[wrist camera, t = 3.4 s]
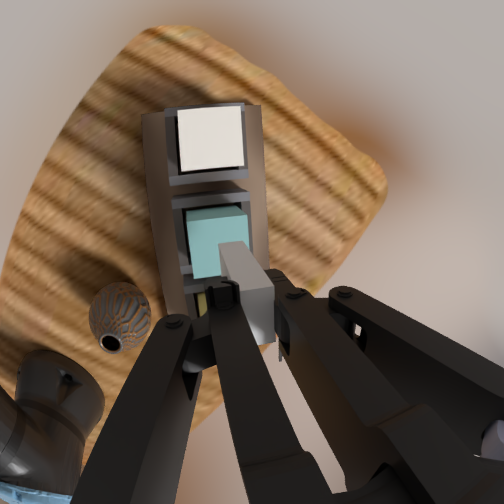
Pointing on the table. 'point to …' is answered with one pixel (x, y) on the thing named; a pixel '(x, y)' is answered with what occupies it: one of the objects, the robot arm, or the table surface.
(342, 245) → the table surface
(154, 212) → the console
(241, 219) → the plunger teal
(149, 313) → the vase
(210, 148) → the plunger cream
